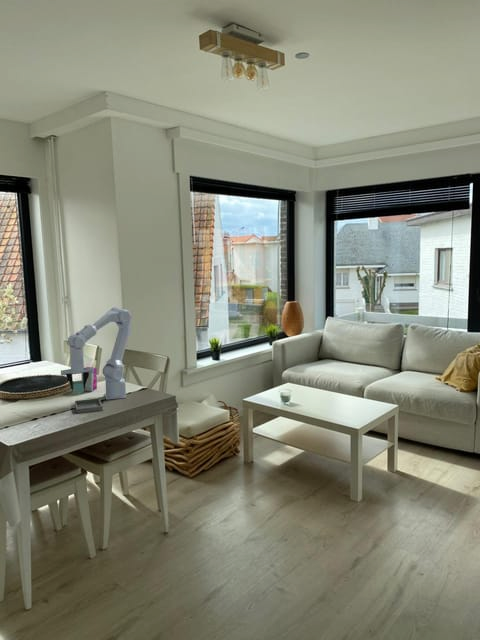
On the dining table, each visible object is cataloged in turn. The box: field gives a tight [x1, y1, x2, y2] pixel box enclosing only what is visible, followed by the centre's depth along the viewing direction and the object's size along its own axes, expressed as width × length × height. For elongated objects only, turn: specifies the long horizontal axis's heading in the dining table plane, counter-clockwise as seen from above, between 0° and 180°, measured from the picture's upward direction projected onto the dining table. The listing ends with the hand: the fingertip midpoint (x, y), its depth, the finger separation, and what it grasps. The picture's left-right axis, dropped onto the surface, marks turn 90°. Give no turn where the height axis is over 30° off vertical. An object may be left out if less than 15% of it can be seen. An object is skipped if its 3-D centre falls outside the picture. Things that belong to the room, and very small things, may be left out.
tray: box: [74, 397, 104, 414], centre depth 225 cm, size 11×11×2 cm
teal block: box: [72, 380, 85, 395], centre depth 225 cm, size 4×4×4 cm
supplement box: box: [81, 366, 98, 393], centre depth 248 cm, size 6×6×12 cm
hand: (78, 388), depth 225 cm, fingers closed on teal block, 4 cm apart
